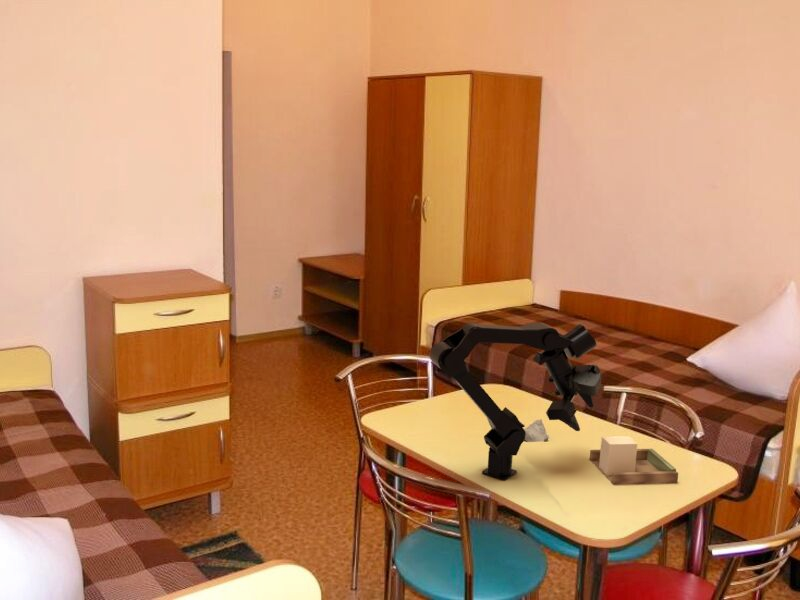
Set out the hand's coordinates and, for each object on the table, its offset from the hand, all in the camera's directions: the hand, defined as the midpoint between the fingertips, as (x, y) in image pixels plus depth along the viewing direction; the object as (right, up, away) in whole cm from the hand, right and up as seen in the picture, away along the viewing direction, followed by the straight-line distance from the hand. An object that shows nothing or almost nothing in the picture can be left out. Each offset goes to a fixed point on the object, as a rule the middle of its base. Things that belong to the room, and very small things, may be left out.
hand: (585, 418), depth 195 cm
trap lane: (+11, -14, -3) cm, 18 cm away
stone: (-9, -9, +21) cm, 24 cm away
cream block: (+7, -12, -4) cm, 15 cm away
